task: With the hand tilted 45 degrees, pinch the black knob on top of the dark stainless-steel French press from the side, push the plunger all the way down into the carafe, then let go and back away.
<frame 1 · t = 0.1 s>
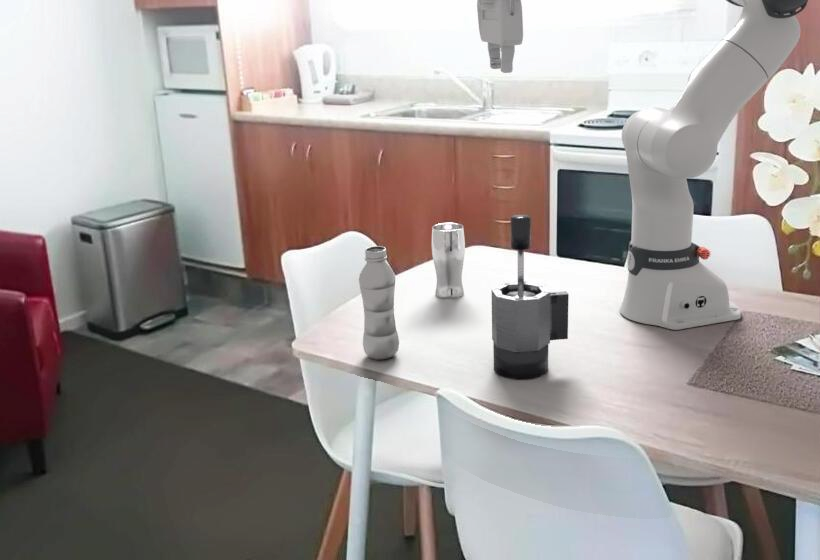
hand: (500, 70, 149), 48 cm above the table, tool pointing down, fingers open, 8 cm apart
plunger: (520, 258, 139), point 20 cm above the table, slide at 0.0 cm
press carafe: (520, 368, 145), on the table
plastic bottle: (381, 357, 153), on the table
beer glass: (449, 295, 183), on the table
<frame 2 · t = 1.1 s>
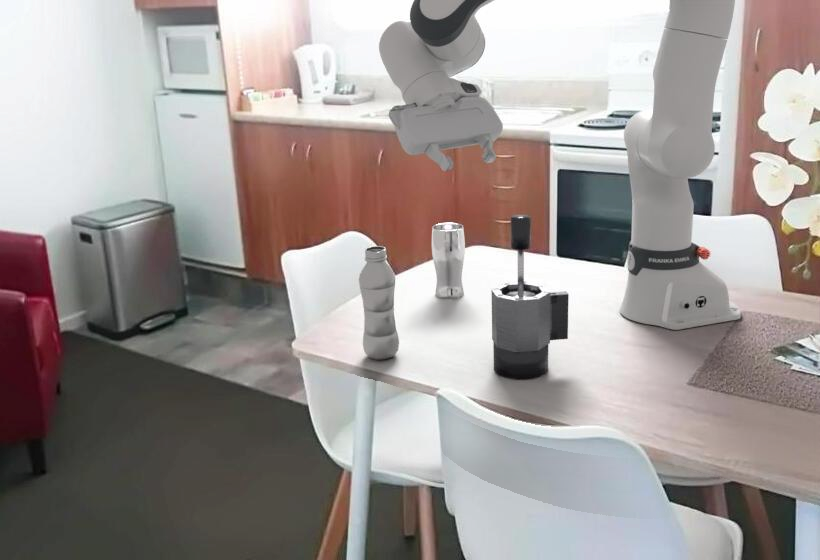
hand: (470, 164, 144), 33 cm above the table, tool tilted 45°, fingers open, 8 cm apart
nothing on the table moved.
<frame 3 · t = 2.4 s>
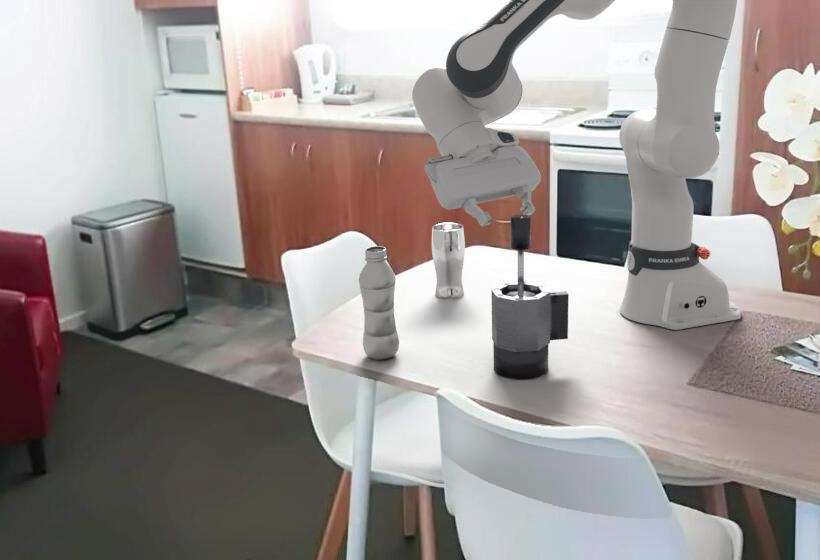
hand: (509, 218, 139), 26 cm above the table, tool tilted 45°, fingers open, 8 cm apart
nothing on the table moved.
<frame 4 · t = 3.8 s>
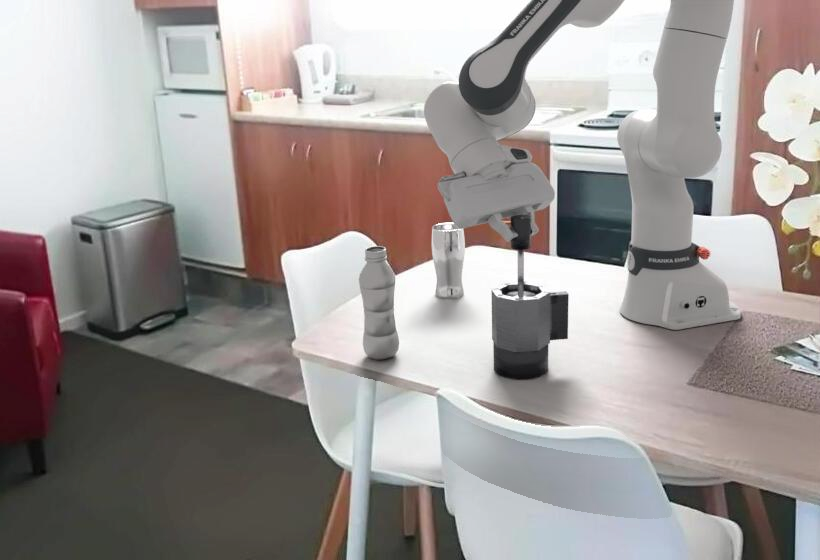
hand: (523, 236, 138), 23 cm above the table, tool tilted 45°, fingers closed on plunger, 3 cm apart
plunger: (520, 258, 139), point 19 cm above the table, slide at 0.0 cm, touching gripper
everything else where it was.
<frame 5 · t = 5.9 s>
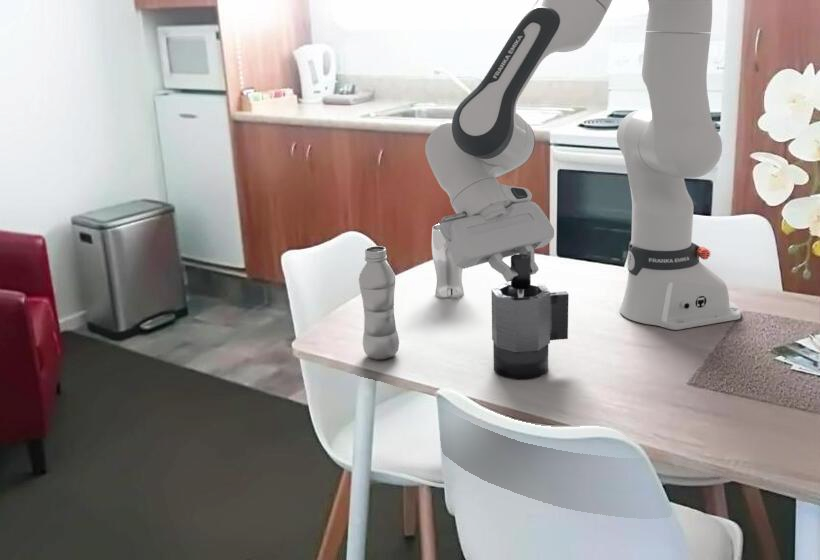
hand: (523, 276, 140), 17 cm above the table, tool tilted 45°, fingers closed on plunger, 3 cm apart
plunger: (520, 297, 141), point 13 cm above the table, slide at 6.7 cm, touching gripper
everything else where it was.
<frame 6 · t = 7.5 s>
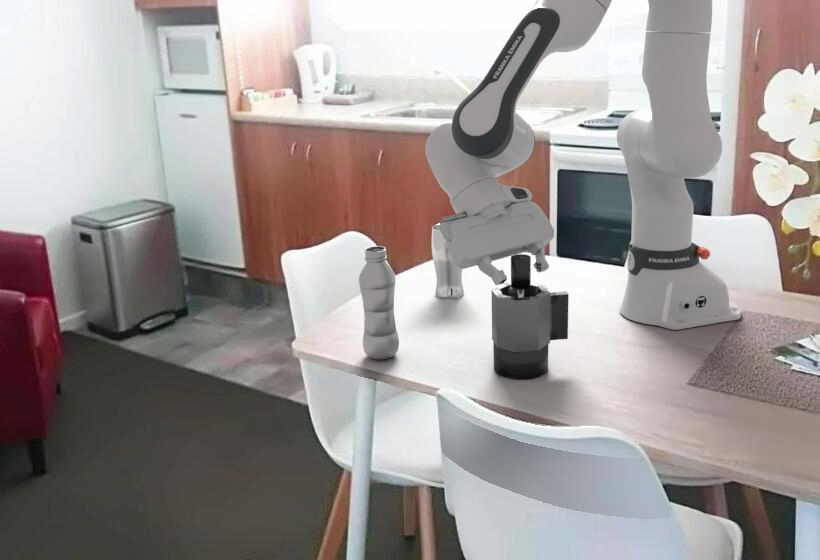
hand: (523, 276, 140), 17 cm above the table, tool tilted 45°, fingers open, 8 cm apart
plunger: (520, 297, 141), point 13 cm above the table, slide at 6.7 cm
everything else where it was.
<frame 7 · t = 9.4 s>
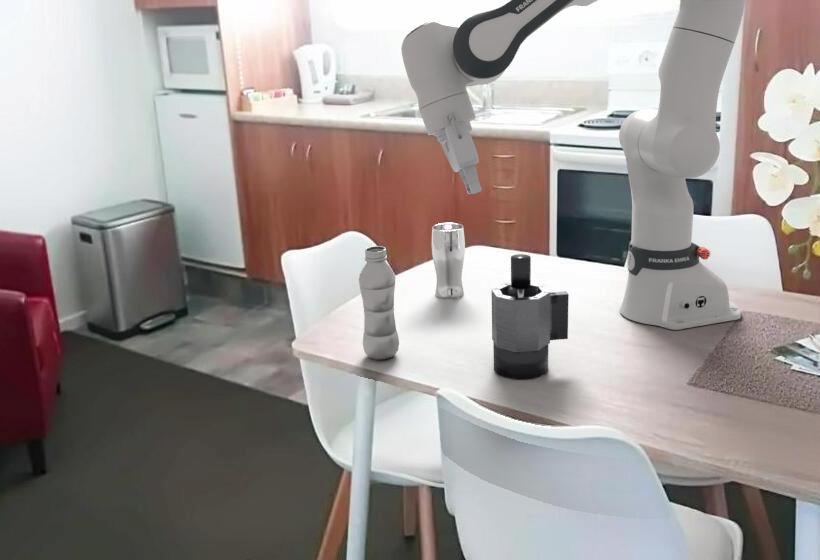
hand: (475, 193, 150), 28 cm above the table, tool tilted 20°, fingers open, 8 cm apart
nothing on the table moved.
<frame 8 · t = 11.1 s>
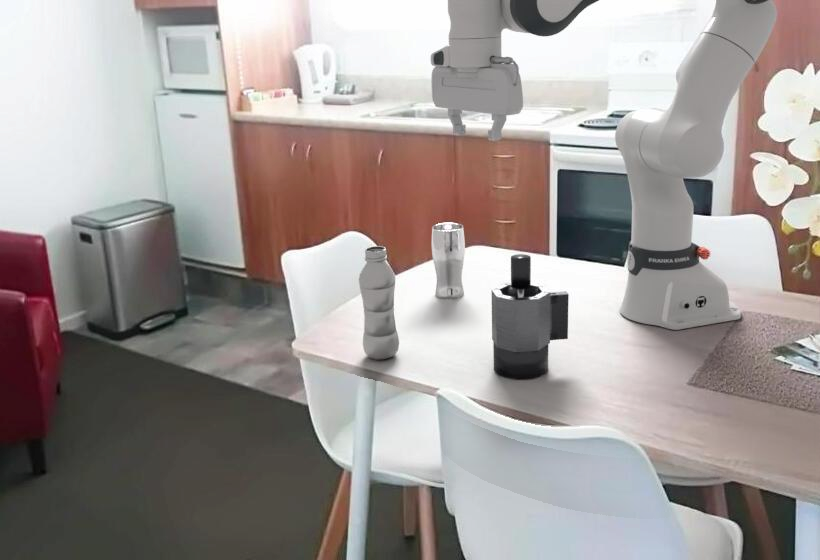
hand: (476, 137, 149), 37 cm above the table, tool pointing down, fingers open, 8 cm apart
nothing on the table moved.
at the end: plunger slide at 6.7 cm; the gripper is holding nothing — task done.
